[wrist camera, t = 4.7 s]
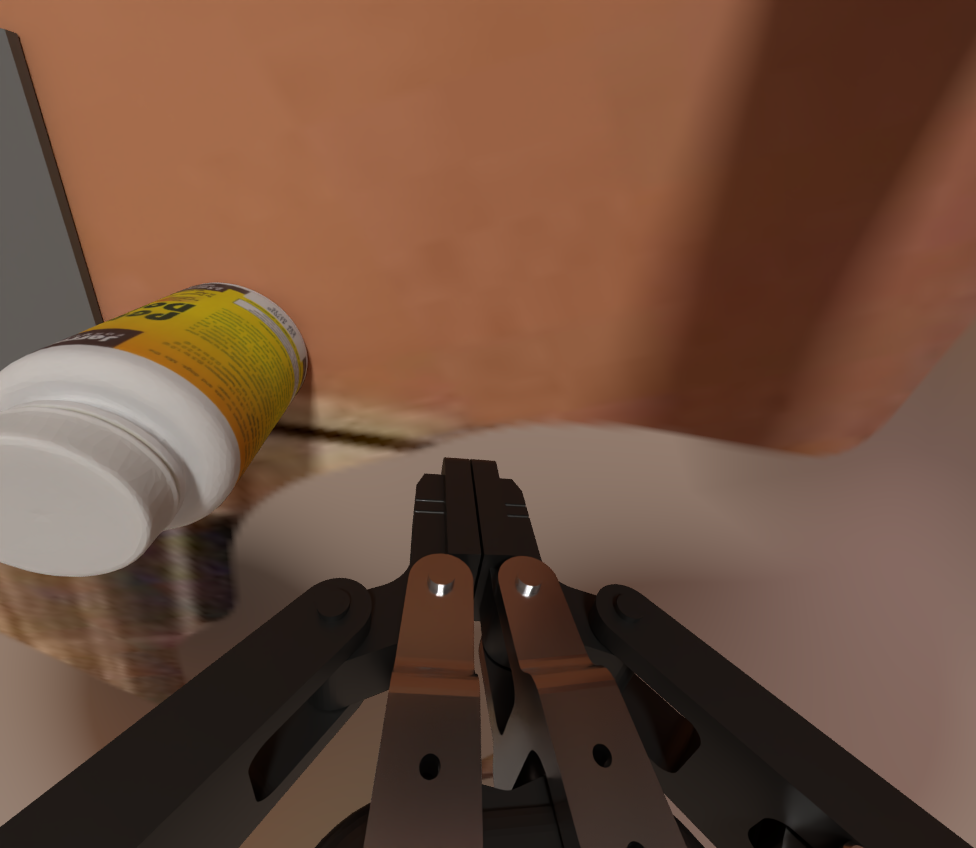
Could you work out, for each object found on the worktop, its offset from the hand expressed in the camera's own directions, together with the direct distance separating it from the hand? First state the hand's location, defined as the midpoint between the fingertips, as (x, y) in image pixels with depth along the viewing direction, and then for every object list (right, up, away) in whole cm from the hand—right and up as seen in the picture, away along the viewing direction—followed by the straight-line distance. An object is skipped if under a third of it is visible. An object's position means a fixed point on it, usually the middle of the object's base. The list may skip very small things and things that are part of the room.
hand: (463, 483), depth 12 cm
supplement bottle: (-10, +5, +5) cm, 12 cm away
